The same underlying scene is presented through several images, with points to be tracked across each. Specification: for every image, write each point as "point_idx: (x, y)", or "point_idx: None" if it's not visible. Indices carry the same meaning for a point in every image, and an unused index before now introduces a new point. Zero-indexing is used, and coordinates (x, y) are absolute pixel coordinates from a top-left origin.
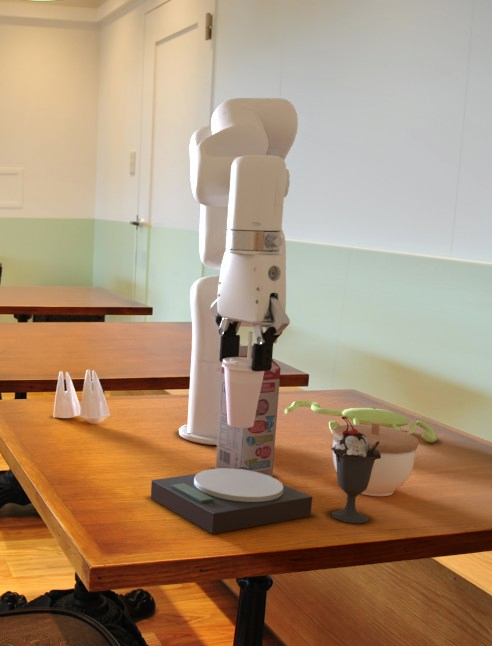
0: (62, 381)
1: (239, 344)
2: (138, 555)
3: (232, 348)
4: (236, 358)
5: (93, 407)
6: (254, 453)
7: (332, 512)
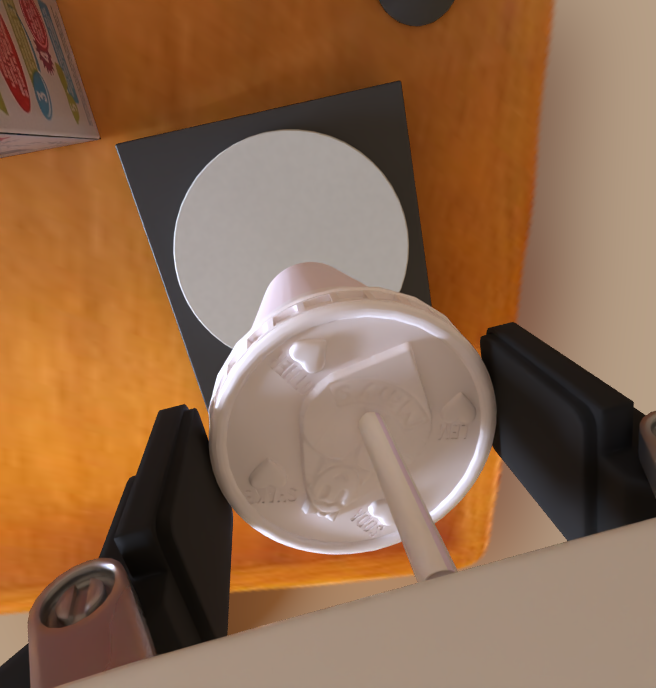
0: None
1: (179, 475)
2: (471, 504)
3: (207, 514)
4: (270, 462)
5: None
6: (53, 77)
7: (386, 8)
